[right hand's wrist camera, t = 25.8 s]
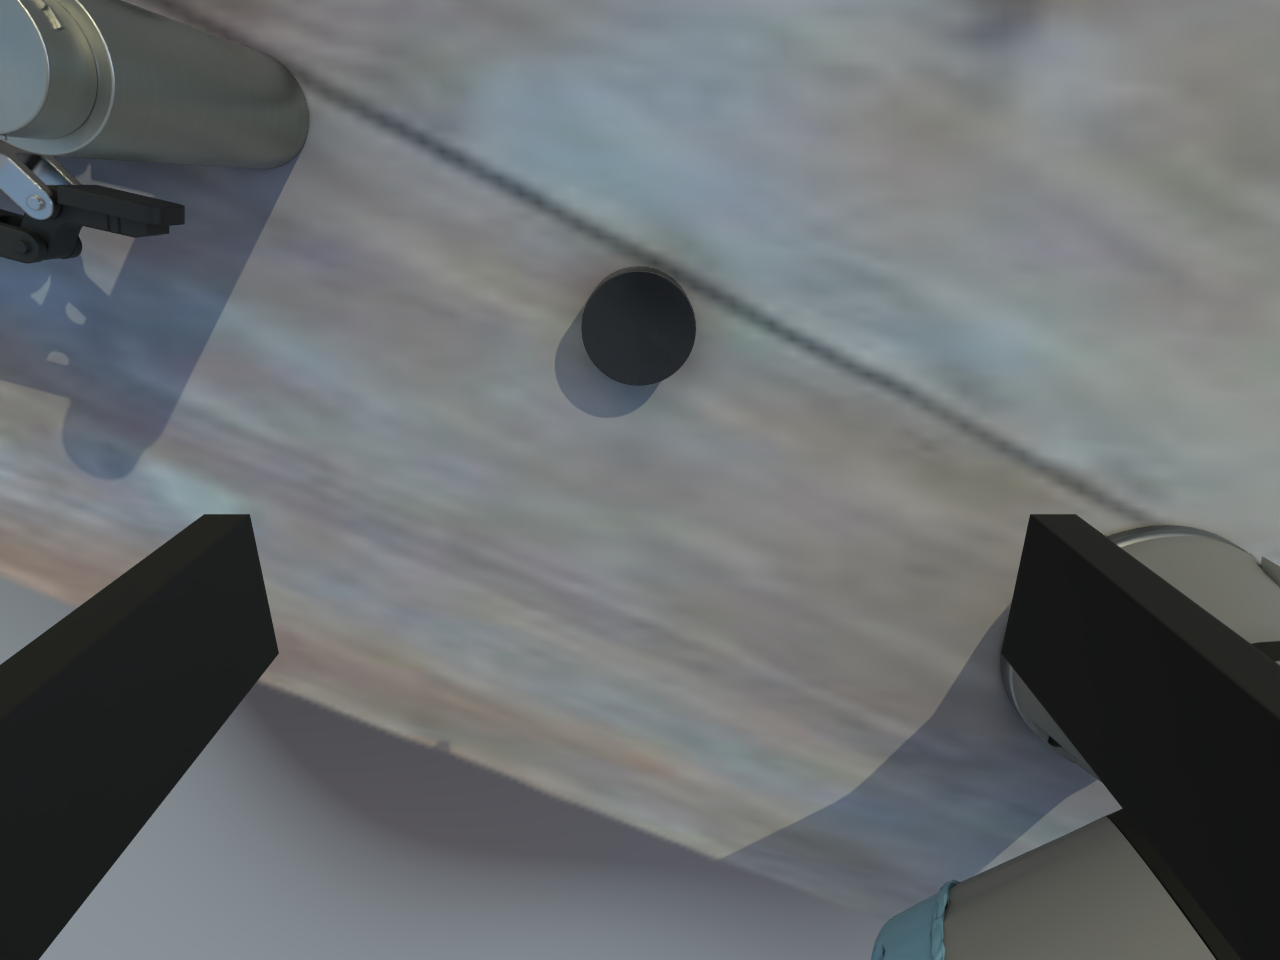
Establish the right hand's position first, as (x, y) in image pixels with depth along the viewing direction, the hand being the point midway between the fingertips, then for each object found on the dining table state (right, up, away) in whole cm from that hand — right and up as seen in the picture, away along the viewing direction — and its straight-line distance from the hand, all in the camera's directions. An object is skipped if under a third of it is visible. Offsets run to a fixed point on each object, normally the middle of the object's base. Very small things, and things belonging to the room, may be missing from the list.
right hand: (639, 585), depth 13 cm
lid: (0, +9, +22) cm, 24 cm away
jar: (-17, +19, +21) cm, 33 cm away
